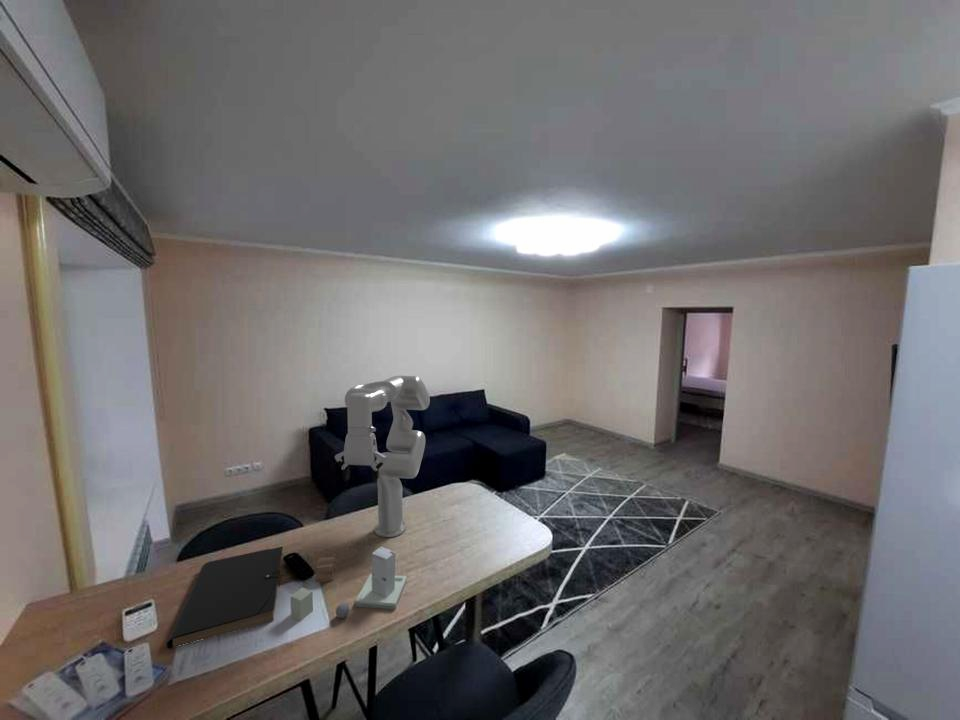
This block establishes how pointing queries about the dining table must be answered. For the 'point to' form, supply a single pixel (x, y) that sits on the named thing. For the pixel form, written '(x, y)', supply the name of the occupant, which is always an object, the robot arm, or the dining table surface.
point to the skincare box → (383, 571)
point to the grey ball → (342, 610)
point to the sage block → (301, 603)
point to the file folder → (229, 597)
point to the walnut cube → (325, 569)
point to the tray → (378, 601)
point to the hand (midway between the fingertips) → (361, 480)
